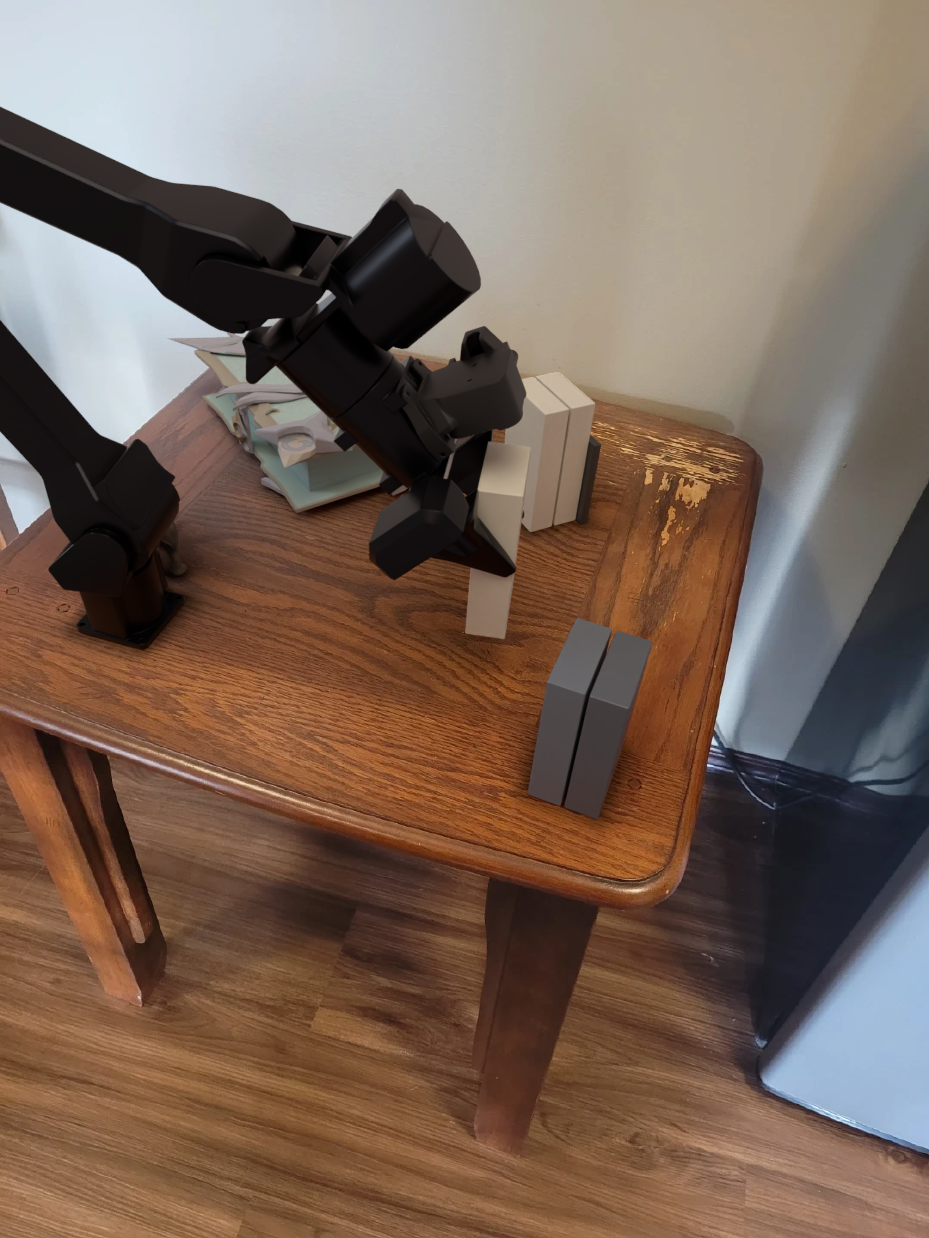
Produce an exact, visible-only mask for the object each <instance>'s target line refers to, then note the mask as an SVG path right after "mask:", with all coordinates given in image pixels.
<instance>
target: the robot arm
mask: <svg viewBox="0 0 929 1238" xmlns="http://www.w3.org/2000/svg"><path fill="white" fill-rule="evenodd" d="M0 204H2V205H4V206H6V207H9V208H11V209H13V210H15V211H18V212H19V213H22V214H25V215H26V216H28V217H32V219H35V220H38V221H40V222H42V223H45V224H47V225H49V226H51V227H54V228H56V229H57V230H60V231H62V232H65V233H66V234H69V235H71V236H73V237H75V238H78V239H80V240H82V241H85V242H87V243H89V244H91V245H94V246H96V247H98V248H100V249H102V250H104V251H106V252H109V253H110V254H111V253H112V254H114V255H116V256H118V257H120V258H122V259H123V260H125V261H126V262H127V263H129V264H131V265H132V266H134V267H136V268H137V269H138V270H140V272H141V273H142V274H143V275H144V276H145V278H146V279H148V281H149V282H150V283H151V284H152V285H153V287H154V288H155V289H156V290H157V291H158V292H159V293H160V295H161V296H162V297H164V299H167V300H168V301H169V302H171V303H173V304H174V305H176V306H178V307H179V308H181V309H182V310H184V311H186V312H187V313H189V314H191V315H192V316H194V317H196V318H197V319H199V320H200V321H202V322H204V323H205V324H207V325H209V326H210V327H212V328H213V329H216V330H218V331H220V332H225V333H227V332H228V333H232V334H235V335H243V334H245V333H246V332H247V333H246V334H245V335H244V336H243V337H244V338H243V340H242V344H243V347H244V350H245V354H246V376H245V377H246V381H247V382H248V383H249V384H256V383H257V382H258V381H259V380H261V379H262V378H263V377H264V376H265V375H266V374H267V373H268V372H269V371H270V370H271V369H273V368H274V367H275V366H276V367H277V368H278V369H279V370H280V371H281V372H282V373H283V374H284V375H285V376H286V377H287V378H288V379H289V380H291V381H292V382H293V383H294V384H295V385H296V386H297V387H298V388H299V389H300V390H301V391H302V392H303V393H304V394H305V395H306V396H307V397H308V398H309V399H310V400H311V401H312V402H313V403H314V404H315V405H316V406H317V407H318V408H319V409H320V410H321V411H322V412H323V413H324V414H325V415H326V416H327V417H328V418H330V420H331V421H332V422H333V423H334V424H335V425H336V426H337V427H338V428H339V431H338V433H337V435H336V437H335V439H334V442H335V443H336V444H337V445H338V446H339V447H340V448H341V449H342V450H343V451H344V452H345V451H347V450H348V449H349V448H351V447H352V446H353V445H354V444H356V445H357V446H358V447H359V448H360V449H361V450H362V451H363V452H364V453H365V454H366V455H367V456H368V457H369V458H370V459H371V460H372V461H373V462H374V463H375V464H376V465H377V466H378V467H379V468H380V469H381V470H382V471H383V474H382V477H381V480H380V482H379V487H380V488H381V489H382V490H383V491H384V492H385V493H387V494H388V496H389V495H392V493H393V492H394V491H395V490H397V489H398V488H400V487H401V486H403V485H404V486H405V487H406V488H407V489H409V490H408V491H407V492H406V493H404V494H403V495H402V496H400V497H399V498H397V499H396V500H394V501H393V502H392V503H390V504H389V505H387V506H385V507H384V508H383V509H381V510H380V512H379V514H378V517H377V520H376V522H375V526H374V528H373V530H372V534H371V536H370V539H369V542H368V560H369V561H370V562H371V563H372V564H373V565H374V566H375V567H376V568H377V569H378V570H380V571H381V572H382V573H383V574H384V575H385V576H386V577H387V578H389V580H392V581H396V580H397V579H399V578H401V577H402V576H404V575H406V574H407V573H409V572H411V571H412V570H414V569H415V568H417V567H418V566H420V565H421V564H423V563H425V562H426V561H428V560H429V559H435V560H439V561H444V562H447V563H448V562H449V563H453V564H457V565H461V566H463V567H467V568H470V569H471V568H473V569H477V570H480V571H484V572H487V573H490V574H494V575H497V576H500V577H504V578H506V577H508V576H510V575H512V574H514V573H516V572H517V565H516V566H515V564H514V563H513V561H512V560H511V558H510V557H509V555H508V554H507V552H506V551H505V550H504V549H503V547H502V546H501V545H500V544H499V542H498V541H497V540H496V538H495V537H494V536H493V535H492V533H491V532H490V531H489V530H488V528H487V527H486V526H485V525H484V523H483V522H482V521H481V519H480V518H479V517H478V514H477V510H478V497H479V491H478V485H479V480H480V476H481V471H482V467H483V463H484V458H485V454H486V450H487V445H488V442H494V435H495V430H497V431H504V430H505V431H506V429H508V428H510V427H513V426H514V425H516V424H517V423H518V422H520V420H521V419H522V416H523V403H524V398H526V390H525V387H524V385H523V382H522V379H523V378H522V377H521V374H520V371H519V368H518V361H519V354H518V352H517V350H515V349H511V347H510V344H509V342H508V341H502V340H501V339H500V338H498V336H496V334H494V332H492V331H491V330H490V329H489V328H488V327H487V326H486V325H483V326H479V327H476V328H472V329H470V330H467V331H465V332H464V335H463V338H462V341H461V345H460V353H459V360H457V358H456V357H452V358H450V359H449V360H448V363H447V365H446V366H444V367H440V368H438V369H435V370H433V371H432V370H431V369H430V368H428V366H427V365H425V363H424V362H423V361H422V360H421V359H420V358H417V357H416V358H414V357H413V356H412V355H408V357H407V358H405V359H404V360H403V361H402V362H401V361H400V360H399V359H398V358H397V357H396V356H395V355H394V354H393V353H392V352H391V349H392V348H395V349H399V350H407V349H409V348H410V347H412V346H413V345H414V344H415V343H416V342H417V341H419V340H420V339H421V338H422V337H424V336H425V335H426V334H427V333H429V332H430V331H431V330H432V329H433V328H435V327H436V326H438V324H439V323H440V322H442V321H443V320H444V319H446V318H447V317H448V316H449V315H450V314H452V313H453V312H454V311H455V310H456V309H457V308H459V307H460V306H462V304H464V303H465V302H466V301H467V300H468V299H470V298H471V297H472V296H473V295H474V294H476V293H477V292H478V291H480V290H481V287H482V278H481V274H480V271H479V270H480V269H479V268H478V265H477V262H476V260H475V258H474V256H473V255H472V252H471V250H470V249H469V247H468V246H467V243H465V241H464V240H463V238H462V237H461V235H460V234H459V233H458V231H457V230H456V229H455V228H454V226H453V225H452V224H451V223H450V221H447V220H446V221H445V222H444V221H443V220H442V219H441V218H440V217H439V216H438V215H437V214H436V213H435V212H433V211H432V210H430V208H427V207H426V206H424V205H421V204H418V203H414V202H413V200H412V199H411V198H410V197H409V195H408V194H407V193H406V192H405V191H404V189H402V188H396V189H395V190H394V191H393V192H392V193H391V194H390V195H389V196H388V197H387V198H386V199H385V200H384V201H383V202H382V203H381V205H380V207H379V208H378V210H377V211H376V212H375V214H374V216H373V217H372V218H370V220H368V221H367V223H366V224H365V225H364V226H362V227H361V229H360V230H359V231H357V232H356V234H355V235H353V236H352V235H347V234H345V233H340V232H336V231H332V230H328V229H324V228H321V227H317V226H313V225H309V224H305V223H302V222H298V221H294V220H292V219H291V218H290V217H289V216H288V215H287V214H286V213H285V212H284V211H283V210H282V209H280V208H279V207H277V206H276V205H274V204H273V203H271V202H268V201H266V200H263V199H260V198H257V197H253V196H249V195H246V194H243V193H238V192H235V191H232V190H228V189H225V188H222V187H218V186H213V185H203V184H191V183H178V182H172V181H167V180H164V179H160V178H157V177H153V176H150V175H148V174H146V173H144V172H142V171H140V170H138V169H135V168H133V167H131V166H130V165H126V164H125V163H122V162H120V161H119V160H116V159H114V158H112V157H109V156H107V155H105V154H103V153H102V152H98V151H96V150H95V149H92V148H90V147H88V146H86V145H84V144H81V143H79V142H77V141H75V140H73V139H71V138H69V137H66V136H65V135H63V134H60V133H58V132H56V131H55V130H51V129H49V128H48V127H46V126H44V125H41V124H38V123H37V122H35V121H32V120H30V119H29V118H26V117H24V116H22V115H20V114H17V113H15V112H13V111H11V110H8V109H6V108H4V107H2V106H0ZM326 291H329V292H330V294H329V295H327V296H326V297H325V298H324V299H322V298H323V296H324V295H325V294H326ZM321 299H322V300H321ZM320 300H321V301H320ZM319 301H320V302H319ZM318 302H319V303H318ZM269 320H277V321H276V322H275V323H274V324H273V325H269V326H263V325H264V324H265V323H266V322H268V321H269ZM0 434H2V436H3V437H4V438H5V439H6V440H7V441H8V442H9V443H10V445H12V447H14V448H15V450H16V451H17V452H18V453H19V454H20V455H21V456H22V457H23V458H24V460H26V461H27V462H28V464H29V465H30V466H31V467H32V468H33V469H34V470H35V471H36V472H37V473H38V475H39V476H40V477H41V480H42V482H43V485H44V489H45V492H46V496H47V500H48V503H49V506H50V510H51V514H52V517H53V520H54V522H55V523H56V525H57V526H58V528H59V529H60V530H61V531H62V533H63V535H64V536H65V537H66V538H67V540H68V542H67V543H66V544H65V546H64V548H63V549H62V550H61V552H59V554H58V555H57V556H56V558H55V559H54V560H53V562H52V563H51V564H50V565H49V566H48V569H47V570H48V573H49V574H50V575H51V576H52V577H53V578H54V580H55V582H57V584H58V585H59V587H60V588H61V589H62V590H64V591H71V592H78V594H79V595H80V598H81V601H82V603H83V606H84V609H85V612H86V613H85V614H84V615H83V616H82V617H81V618H80V619H79V621H78V622H77V623H76V629H77V631H78V632H79V633H83V634H87V635H90V636H93V637H96V638H100V639H104V640H108V641H111V642H115V643H118V644H122V645H126V646H129V647H133V648H136V649H141V650H142V649H146V648H147V647H149V645H150V644H151V643H152V642H153V641H154V640H155V638H156V637H157V636H158V635H159V633H160V632H161V631H162V630H163V629H164V628H165V626H166V625H167V624H168V623H169V622H170V620H171V619H172V618H173V617H174V616H175V614H176V613H177V612H178V611H179V609H180V608H181V607H182V606H183V605H184V603H185V602H186V601H185V596H184V595H183V594H181V593H177V592H173V591H169V590H168V588H169V584H168V580H167V577H166V573H165V569H164V565H163V561H162V557H161V554H160V551H159V550H158V549H156V547H157V545H158V544H159V542H160V541H161V539H162V538H163V536H164V534H165V533H166V531H167V530H168V528H169V527H170V525H171V524H172V522H174V521H175V518H176V517H177V516H178V514H179V512H180V501H181V497H180V494H179V492H178V490H177V488H176V487H175V485H174V483H173V482H174V481H175V479H176V475H174V474H173V473H171V472H170V471H168V470H167V469H166V468H165V467H164V466H163V465H162V464H161V463H160V462H159V461H158V460H157V459H156V457H155V455H154V454H153V452H152V451H151V449H150V448H149V446H148V445H147V443H145V442H143V441H142V440H141V439H139V438H135V439H133V440H132V441H131V442H130V443H129V444H127V445H126V444H123V443H121V442H118V441H116V440H114V439H111V438H109V437H106V436H104V435H101V434H100V433H99V432H98V431H97V430H96V429H95V428H94V426H92V425H91V423H90V422H89V421H88V420H87V419H86V418H85V417H84V416H83V415H82V413H81V412H80V411H79V410H78V408H77V407H76V406H75V405H74V404H73V402H71V400H70V399H69V398H68V397H67V395H65V393H64V392H63V391H62V390H61V389H60V388H59V387H58V385H57V384H56V383H55V382H54V381H53V379H51V377H50V376H49V375H48V374H47V373H46V371H45V370H44V369H43V368H42V366H40V364H39V363H38V361H36V360H35V358H33V356H32V355H31V354H30V352H29V351H28V350H27V349H26V348H25V347H24V345H23V344H22V343H21V342H20V341H19V339H18V338H17V337H15V335H14V334H13V333H12V332H11V330H9V328H8V327H7V326H6V325H5V323H4V322H3V321H2V320H1V319H0ZM524 514H525V513H524V511H523V513H522V519H523V518H524ZM159 545H160V544H159ZM514 575H515V574H514Z"/></svg>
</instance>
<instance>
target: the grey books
mask: <svg viewBox="0 0 929 1238" xmlns="http://www.w3.org/2000/svg"><path fill="white" fill-rule="evenodd" d="M612 632H613V628H612V627H607V626H605V625H601V624H598V623H595V622H593V621H589V620H586V619H582V618H579V617H576V618H575V620H574V621H573V624H572V626H571V629H570V631H569V632H568V635H567V638H566V639H565V641H564V644H563V646H562V648H561V650H560V653H559V654H558V657H557V659H556V661H555V663H554V666H553V667H552V670H551V672H550V674H549V675H548V678H547V680H546V685H545V690H544V696H543V702H542V707H541V713H540V718H539V724H538V730H537V736H536V742H535V747H534V753H533V760H532V765H531V771H530V777H529V781H528V782H529V784H528V788H527V795H529V796H531V797H534V798H536V799H539V800H541V801H545V802H548V803H550V804H553V805H555V806H558V807H561V806H562V803H563V801H565V802H564V807H563V808H565V809H567V810H570V811H572V812H576V813H578V814H580V815H583V816H586V817H589V818H591V819H594V820H598V819H599V818H600V815H601V813H602V810H603V807H604V803H605V801H606V798H607V795H608V791H609V789H610V786H611V783H612V780H613V777H614V774H615V773H616V769H617V767H618V766H617V765H618V762H619V760H620V757H621V754H622V752H623V747H624V743H625V740H626V737H627V733H628V730H629V727H630V722H631V719H632V716H633V712H634V710H635V706H636V702H637V699H638V696H639V692H640V688H641V684H642V681H643V678H644V674H645V671H646V667H647V663H648V661H649V657H650V654H651V650H652V646H653V643H654V642H653V640H650V639H646V638H643V637H640V636H637V635H634V634H630V633H627V632H623V631H620V630H616V631H615V632H614V634H613V637H612V640H611V636H612ZM610 641H611V642H610ZM565 796H566V797H565ZM564 798H565V800H564Z"/></svg>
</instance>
